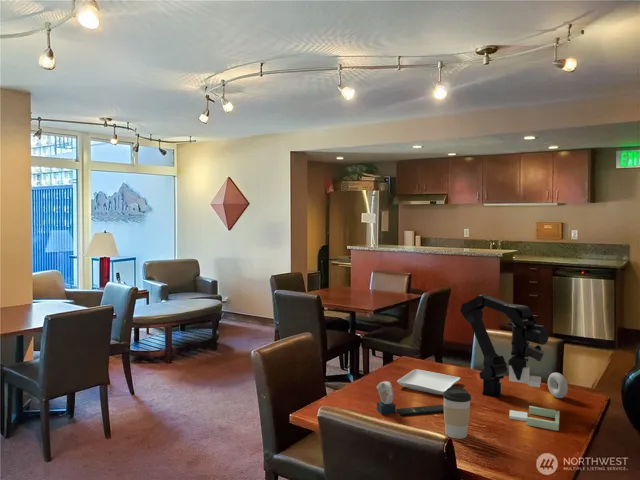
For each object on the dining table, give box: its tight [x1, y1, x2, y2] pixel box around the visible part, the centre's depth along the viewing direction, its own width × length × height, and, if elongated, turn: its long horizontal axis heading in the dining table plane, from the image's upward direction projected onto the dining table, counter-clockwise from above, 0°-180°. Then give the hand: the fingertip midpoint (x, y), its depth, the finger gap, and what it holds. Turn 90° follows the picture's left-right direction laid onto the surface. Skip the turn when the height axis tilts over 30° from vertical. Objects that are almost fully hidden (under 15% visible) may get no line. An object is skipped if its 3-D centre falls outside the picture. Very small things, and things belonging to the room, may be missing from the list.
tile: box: [508, 409, 529, 422], centre depth 177 cm, size 6×6×2 cm
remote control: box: [395, 404, 444, 417], centre depth 182 cm, size 5×24×1 cm, turn 103°
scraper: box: [508, 365, 542, 388], centre depth 187 cm, size 11×7×6 cm, turn 63°
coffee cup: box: [442, 386, 472, 440], centre depth 162 cm, size 9×9×15 cm
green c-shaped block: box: [525, 405, 560, 432], centre depth 173 cm, size 10×12×2 cm
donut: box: [547, 372, 569, 399], centre depth 196 cm, size 10×4×10 cm, turn 10°
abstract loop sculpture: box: [376, 380, 397, 415], centre depth 181 cm, size 6×8×11 cm
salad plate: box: [396, 368, 461, 396], centre depth 209 cm, size 21×21×3 cm
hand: (518, 378), depth 188 cm, fingers closed on scraper, 2 cm apart
